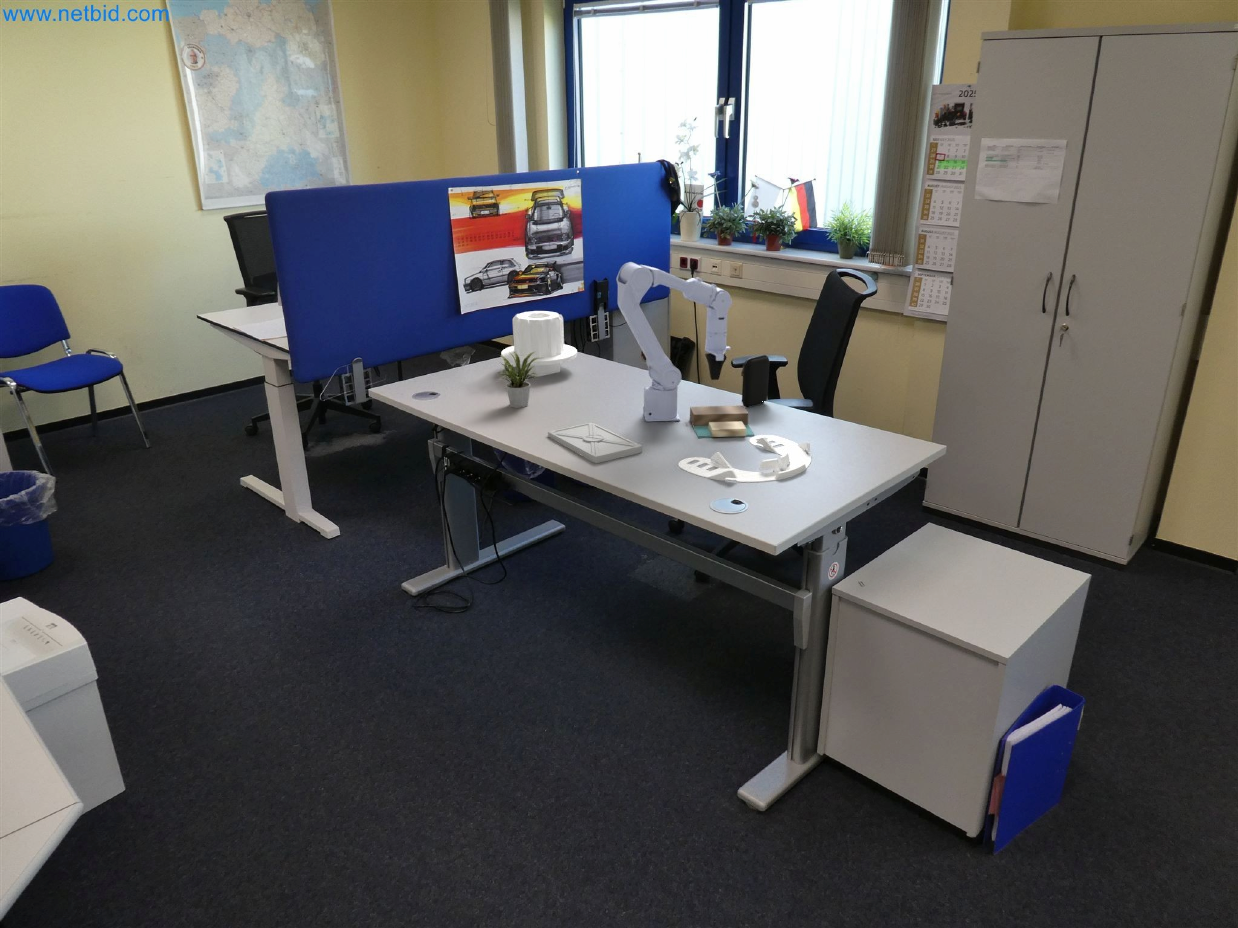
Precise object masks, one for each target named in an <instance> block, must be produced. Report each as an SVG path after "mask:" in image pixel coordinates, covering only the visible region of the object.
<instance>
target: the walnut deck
mask: <svg viewBox="0 0 1238 928" xmlns="http://www.w3.org/2000/svg"><path fill="white" fill-rule="evenodd" d="M689 420H690V422H691V425H692V427H693V428H694V426H709V422H738V421H742V422H743V424H744V425H749V412H748V410H747V409H746V407H744V405H743V404H742V405H713V406H712V405H708V406H707V405H706V406H689Z"/></svg>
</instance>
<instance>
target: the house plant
mask: <svg viewBox="0 0 1238 928" xmlns="http://www.w3.org/2000/svg"><path fill="white" fill-rule="evenodd" d="M508 352H509V351H508ZM509 353H510V352H509ZM533 353H535V352H532V353H530V354H529V355H528V356H527V357H526V358H525V359H524V360H523V363H522V368H520V359H519V356H518V355H517V353H516V352H514V354H515V357H516V359H515V357H514V356H513V355H512V354H511V353H510V354H511V355H512V356H513V358H514V360H515V363H516V364H515V367H514V364H512V363H510V362H509V361H508V360H507V359H506V358H504V357H503V356H501V355H499V356H500V357H501V359H502V358H503V359H504V360H503V359H502V360H503V361H504V364H503V363H502V362H500V363H501V365H502V366H503V367H504V370H503V371H502V372H501V371H500V372H499V371H498V373H499V374H501V375H503V376H505V377H507V378H505V377H500V378H499V380H506V381H507V382H508V383H506V384H505V387H506V392H507V396H508V399H509V405H510V407H512V408H515V409H516V408H517V409H518V408H526V407H528V406H529V399H530V390H531V383H530V382H528V381H526V380H529V379H534V380H536V379H535V378H536V377H534V376H532V375H537V374H536V373H532V374H528V373H529V371H530V370H531V369H532V368H533V367H535V366H533V367H531V368H529V366H530V364H531V363H532V362H533V361H534V360H536V359H540V358H534V359H532V360H531V361H530V363H528V364H527V362H528V361H529V360H528V359H529V357H530V356H531V355H532V354H533ZM527 360H528V361H527ZM526 367H527V369H526ZM528 368H529V369H528ZM515 369H516V370H515ZM525 369H526V370H525ZM527 370H528V371H527ZM505 372H506V373H505ZM508 378H509V379H508Z"/></svg>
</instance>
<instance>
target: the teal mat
mask: <svg viewBox="0 0 1238 928" xmlns="http://www.w3.org/2000/svg"><path fill="white" fill-rule="evenodd" d="M744 426H745V427H746V436H745V437H754V436H755V433H754V430H752V428H751V426H750V424H748V425H744ZM693 430H694V431H695V435H696V436H697V438H713V437H712V436H711V433H710V431H709V426H694V427H693ZM726 437H730V438H731V437H735V438H736V436H726ZM726 437H725V438H726Z"/></svg>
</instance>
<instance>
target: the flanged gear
mask: <svg viewBox="0 0 1238 928" xmlns="http://www.w3.org/2000/svg"><path fill="white" fill-rule="evenodd" d="M512 334H513V335H512V336H513V345H511V346H508V347H505V349H504V348H503V350H502V351H501V356H503V357H504V358H506V359H507V360H508V361H509V363H510V364H513V365H514V364H515V365H516V363H515V360H514V358H513V356H514V357H515V354H514V352H516V353H517V355H518V356H519V359H520V368H522V363H523V360H524V359H525V358H526V357H527V356H528V355H529V354H530V353H532V352H535V353H533V354H532V355H531V356H530V357H529V359H528V360H529V361H528V360H527V361H528V362H527V364H528V363H530V361H531V360H532V359H534V358H540V359H536V360H534V361H533V362H532V363H531V364H530V366H529V368H531V367H533V366H535V367H533V368H532V369H531V370H530V371H529V373H528V374H527V375H529V374H532V373H536V374H537V375H531V377H534V378H539V377H542V376H543V377H544V376H548V375H552V374H557V373H560V372H561V363H565V362H569V361H572V360H574V359H575V358H577V356H578V349H576V347H574V346H571V345H568V344H565V338H564V337H565V336H564V335H565V334H564V317H563V315H562V314H559V313H558V312H554V311H548V310H547V311H546V310H533V311H524V312H521V313H516V314H515V315H514V316H513V318H512ZM508 351H509V352H510V353H511V354H512V355H513V356H512V355H511V354H510V353H509V352H508ZM501 356H500V357H501ZM501 359H502V360H503V361H504V359H503V358H502V357H501ZM515 359H516V357H515ZM529 368H528V369H529ZM526 369H527V367H526ZM526 369H525V370H526ZM527 371H528V370H527Z"/></svg>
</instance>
